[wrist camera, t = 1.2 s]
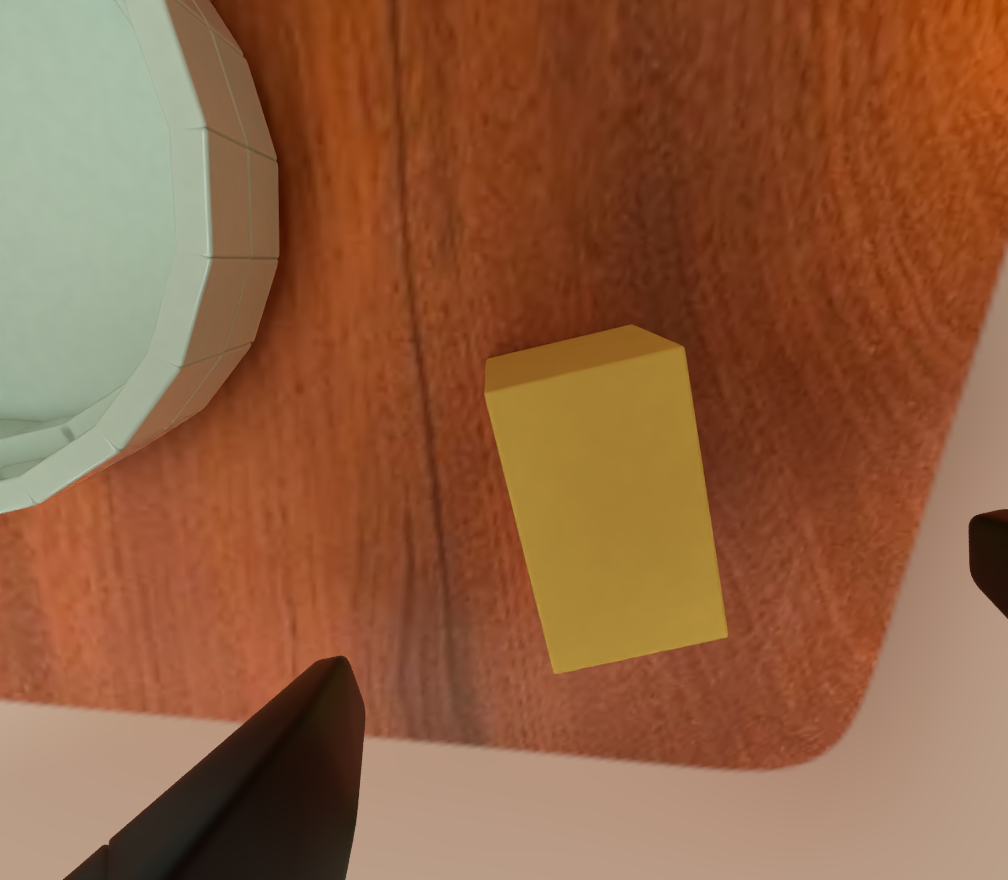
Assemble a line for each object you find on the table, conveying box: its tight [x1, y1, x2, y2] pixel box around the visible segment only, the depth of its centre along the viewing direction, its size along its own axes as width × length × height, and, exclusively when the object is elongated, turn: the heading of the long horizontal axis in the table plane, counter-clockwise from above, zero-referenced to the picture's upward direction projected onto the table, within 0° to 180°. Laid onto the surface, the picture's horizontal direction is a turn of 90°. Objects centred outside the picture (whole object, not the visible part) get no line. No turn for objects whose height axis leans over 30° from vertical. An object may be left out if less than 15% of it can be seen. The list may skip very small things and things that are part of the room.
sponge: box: [485, 325, 728, 674], centre depth 14 cm, size 6×4×4 cm, turn 13°
